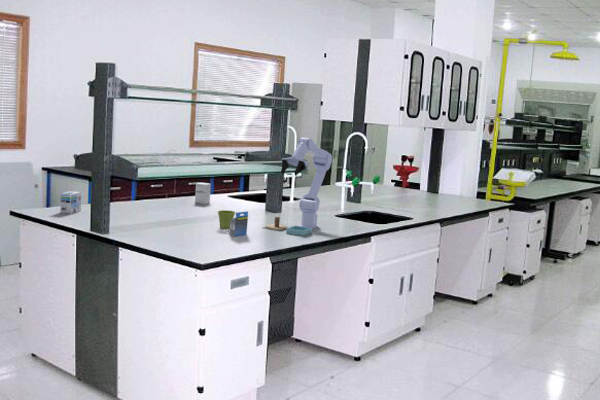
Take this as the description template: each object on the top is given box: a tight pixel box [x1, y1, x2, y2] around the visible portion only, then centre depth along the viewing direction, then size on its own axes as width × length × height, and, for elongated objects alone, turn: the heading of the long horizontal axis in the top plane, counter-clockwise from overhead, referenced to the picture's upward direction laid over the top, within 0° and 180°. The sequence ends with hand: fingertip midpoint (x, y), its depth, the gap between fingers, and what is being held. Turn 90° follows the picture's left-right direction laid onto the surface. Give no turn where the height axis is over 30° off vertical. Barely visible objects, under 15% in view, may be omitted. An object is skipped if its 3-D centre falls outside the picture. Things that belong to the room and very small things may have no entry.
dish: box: [285, 225, 313, 237], centre depth 343 cm, size 10×10×3 cm
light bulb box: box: [59, 190, 82, 215], centre depth 358 cm, size 11×7×11 cm, turn 168°
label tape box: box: [229, 210, 249, 237], centre depth 329 cm, size 9×4×12 cm, turn 141°
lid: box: [265, 216, 287, 231], centre depth 351 cm, size 11×11×6 cm
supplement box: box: [194, 182, 212, 205], centre depth 415 cm, size 7×7×13 cm
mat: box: [262, 226, 289, 232], centre depth 352 cm, size 12×12×1 cm
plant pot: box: [217, 209, 236, 230], centre depth 344 cm, size 9×9×9 cm
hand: (288, 173), depth 332 cm, fingers open, 7 cm apart
